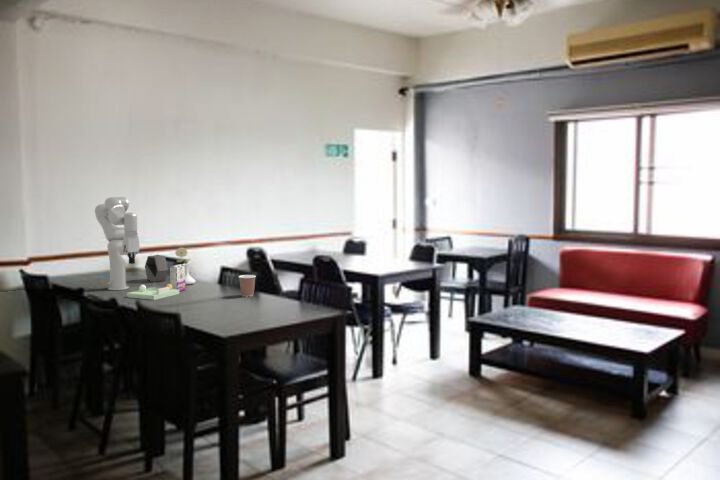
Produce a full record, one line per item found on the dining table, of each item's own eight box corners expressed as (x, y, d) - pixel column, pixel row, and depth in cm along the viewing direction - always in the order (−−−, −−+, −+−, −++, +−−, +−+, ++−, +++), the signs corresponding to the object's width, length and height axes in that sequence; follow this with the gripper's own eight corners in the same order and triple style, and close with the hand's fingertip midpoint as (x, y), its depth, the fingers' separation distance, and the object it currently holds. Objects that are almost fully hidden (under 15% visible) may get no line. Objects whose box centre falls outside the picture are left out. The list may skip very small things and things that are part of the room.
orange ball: (164, 290, 377) (164, 284, 377) (168, 289, 381) (168, 283, 380) (169, 291, 375) (169, 284, 375) (174, 290, 379) (173, 283, 379)
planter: (142, 272, 437) (149, 249, 428) (153, 271, 443) (159, 249, 433) (152, 288, 428) (159, 265, 419) (162, 286, 434) (170, 263, 424)
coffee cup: (259, 295, 377) (259, 275, 376) (248, 297, 368) (248, 277, 367) (246, 293, 382) (245, 274, 380) (235, 296, 373) (235, 276, 371)
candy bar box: (178, 289, 396) (178, 264, 394) (185, 289, 395) (185, 264, 393) (170, 292, 385) (169, 266, 384) (177, 292, 384) (176, 266, 383)
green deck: (126, 297, 369) (126, 288, 369) (153, 291, 389) (152, 282, 389) (154, 299, 361) (153, 290, 360) (179, 293, 381) (179, 284, 380)
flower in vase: (197, 282, 423) (196, 246, 421) (193, 285, 412) (192, 248, 410) (178, 282, 423) (177, 246, 421) (173, 285, 412) (172, 248, 409)
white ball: (137, 291, 375) (137, 284, 374) (142, 290, 378) (142, 283, 378) (142, 291, 373) (142, 285, 373) (147, 290, 377) (147, 284, 376)
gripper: (135, 232, 384) (136, 261, 386) (116, 234, 370) (117, 264, 372) (144, 233, 381) (145, 262, 383) (126, 234, 367) (127, 265, 369)
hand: (131, 263), depth 377 cm, fingers closed
